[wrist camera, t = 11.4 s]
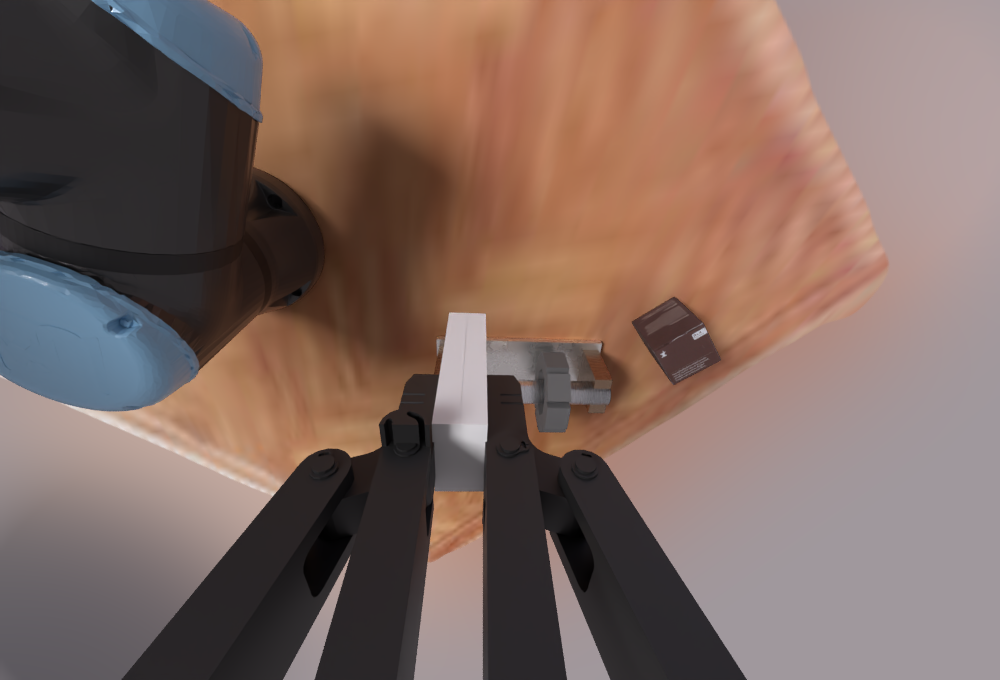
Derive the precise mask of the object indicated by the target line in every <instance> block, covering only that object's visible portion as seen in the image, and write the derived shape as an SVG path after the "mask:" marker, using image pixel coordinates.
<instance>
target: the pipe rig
mask: <svg viewBox="0 0 1000 680" xmlns="http://www.w3.org/2000/svg"><path fill="white" fill-rule="evenodd" d="M445 337H446V336H437V361H436V367H435V372H434V375H440V368H441V362H442V356H443V349H444V343H445ZM601 347H602V342H601V340H566V339H529V338H493V337H486V357H487V375H514V376H515V378H516V379H517V380H518V382H519V383H520V384H521V391H522V398H523V404H544V400H545V391H544V380H535V373H536V365H537V360H538V356H539V355H540V354H541V352H542V351H543V352H563V353H565V356H566V359H567V362H568V365H569V374H570V378H571V402H569V404H570V405H586V408H587V411H588V413H605V409H606V405H608V404H609V403H610V399H611V385H612V381H613V380H612V378H611V375H610V373H609V371H608V369H607V367H606V365H605V363H604V361H603V359H602V357H601V355H600V351H601Z"/></svg>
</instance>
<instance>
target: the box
mask: <svg viewBox="0 0 1000 680" xmlns="http://www.w3.org/2000/svg"><path fill="white" fill-rule="evenodd" d="M632 324H633V326H634V327H635V329H636V331H637V332H638V334H639V336H640V337H641V339H642V341H643V342H644V344H645V345H646V347H647V348H648V350H649V352H650V353H651V355H652V356H653V357H654V359H655V360H656V362H657V363H658V364H659V366H660V367H661V369H662V370H663V372H664V373H665V374H666V376H667V377H668V379H669V380H670V382H671V383H672V384H673V385H675V384H676V383H678V382H680V381H682V380H684V379H686V378H688V377H690V376H692V375H694V374H696V373H697V372H699V371H701V370H703V369H705V368H707V367H709V366H711V365H713V364H715V363H717V362H719V361H721V359H720V356H719V354H718V352H717V350H716V348H715V346H714V344H713V342H712V340H711V338H710V336H709V334H708V332H707V330H706V328H705V326H704V324H703V322H702V321H701V320H699V319H698V318H697V317H696V316H695V315H694V314H693V313H692V312H691V311H690V310H689V309H688V308H686V306H684V305H683V304H682V303H681V302H680V301H679V300H678V299H677V298H675V297H673V298H671V299H669V300H668V301H666V302H664V303H663V304H661V305H659V306H658V307H656V308H654V309H652V310H651V311H649V312H647V313H646V314H644V315H642V316H641V317H639V318H637V319H636V320H634V321H632Z"/></svg>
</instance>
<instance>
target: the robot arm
mask: <svg viewBox="0 0 1000 680" xmlns="http://www.w3.org/2000/svg"><path fill="white" fill-rule="evenodd" d="M262 69H263V60H262V54H261V51H260V48H259V45H258V43H257V41H256V39H255V38H254V36H253V35H252V33H251V32H250V31H249V30H248V29H247V27H246V26H245V25H244V24H243V23H242V22H241V21H239V20H238V19H237V18H235V17H234V16H232V15H231V14H229V13H227V12H226V11H224V10H222V9H221V8H219V7H217V6H216V5H214V4H212V3H211V2H209V1H207V0H0V375H2V376H3V377H5V378H6V379H8V380H9V381H11V382H13V383H15V384H17V385H19V386H21V387H23V388H25V389H27V390H29V391H31V392H34V393H36V394H38V395H41V396H44V397H46V398H49V399H52V400H55V401H58V402H61V403H64V404H68V405H72V406H76V407H81V408H86V409H92V410H99V411H129V410H136V409H140V408H142V407H145V406H150V405H154V404H156V403H158V402H160V401H162V400H163V399H165V398H166V397H168V396H169V395H170V394H172V393H173V392H175V391H176V390H177V389H179V388H180V387H182V386H183V385H184V384H186V383H188V382H190V381H191V380H192V379H193V378H195V377H196V375H197V374H198V371H199V370H200V369H201V368H202V367H203V366H204V365H205V364H206V363H207V362H209V361H210V360H211V359H212V358H213V357H214V356H215V355H216V354H217V353H218V352H219V351H220V350H221V349H222V348H223V347H224V346H225V345H226V344H228V343H229V342H230V341H231V340H232V339H233V338H234V337H235V336H236V335H237V334H238V333H239V332H240V331H241V330H242V329H243V328H244V327H246V326H247V325H248V324H249V323H250V322H251V321H252V320H253V319H254V318H255V317H256V316H257V315H260V314H263V313H267V312H271V311H274V310H278V309H281V308H284V307H287V306H289V305H291V304H293V303H295V302H296V301H298V300H299V299H301V298H302V297H303V296H304V295H305V294H306V293H307V292H308V291H309V290H310V289H311V288H312V287H313V286H314V284H315V283H316V282H317V280H318V278H319V276H320V274H321V271H322V268H323V264H324V244H323V239H322V235H321V232H320V229H319V227H318V224H317V222H316V220H315V218H314V216H313V215H312V213H311V212H310V210H309V209H308V207H307V206H306V205H305V203H304V202H303V201H302V200H301V199H300V198H299V196H298V195H297V194H296V193H295V192H293V191H292V190H291V189H290V188H289V187H288V186H286V185H285V184H284V183H282V182H281V181H280V180H278V179H276V178H275V177H273V176H271V175H269V174H268V173H266V172H263V171H261V170H259V169H256V168H253V165H254V157H255V149H256V142H257V134H258V126H259V122H260V123H262V120H263V116H262V113H261V111H260V97H261V83H262ZM379 428H380V435H381V442H382V447H381V448H379V449H377V450H375V451H374V452H371V453H368V454H365V455H360V456H356V457H352V458H350V456H349V455H348V454H347V453H346V452H345V451H342V450H340V449H325V450H320V451H317V452H315V453H313V454H311V455H310V456H308V457H307V458H306V459H305V460H304V461H302V462H301V463H300V465H299V466H298V467H297V468H296V469H295V471H294V472H293V473H292V474H291V475H290V477H289V478H288V479H287V480H286V481H285V483H284V484H283V485H282V486H281V488H280V489H279V490H278V491H277V492H276V494H275V495H274V496H273V497H272V498H271V500H270V501H269V502H268V503H267V504H266V506H265V507H264V508H263V509H262V510H261V512H260V513H259V514H258V515H257V517H256V518H255V519H254V520H253V521H252V523H251V524H250V525H249V526H248V528H247V529H246V530H245V531H244V532H243V533H242V535H241V536H240V537H239V539H237V541H236V542H235V543H234V544H233V546H232V547H231V548H230V549H229V550H228V552H227V553H226V554H225V555H224V556H223V558H222V559H221V560H220V561H219V562H218V564H217V565H216V566H215V567H214V569H213V570H212V571H211V572H210V573H209V575H208V576H207V577H206V578H205V579H204V581H203V582H202V583H201V584H200V586H199V587H198V588H197V589H196V590H195V591H194V593H193V594H192V595H191V596H190V598H189V599H188V600H187V601H186V602H185V604H184V605H183V606H182V607H181V608H180V610H179V611H178V612H177V613H176V614H175V616H174V617H173V618H172V619H171V620H170V622H169V623H168V624H167V625H166V627H165V628H164V629H163V630H162V631H161V633H160V634H159V635H158V636H157V637H156V639H155V640H154V641H153V642H152V644H151V645H150V646H149V647H148V648H147V650H146V651H145V652H144V653H143V654H142V656H141V657H140V658H139V659H138V660H137V662H136V663H135V664H134V665H133V666H132V668H131V669H130V670H129V671H128V672H127V674H126V675H125V676H124V677H123V678H122V680H283V678H284V676H285V675H286V673H287V671H288V669H289V667H290V665H291V663H292V662H293V660H294V658H295V656H296V654H297V652H298V650H299V649H300V647H301V645H302V643H303V641H304V640H305V638H306V636H307V634H308V632H309V630H310V628H311V626H312V625H313V623H314V621H315V619H316V617H317V615H318V614H319V612H320V610H321V608H322V606H323V605H324V603H325V601H326V599H327V597H328V595H329V593H330V592H331V590H332V588H333V586H334V584H335V582H336V580H337V579H338V577H339V575H340V573H341V571H342V570H343V568H344V566H345V564H346V562H347V560H348V558H349V557H350V560H349V563H348V566H347V570H346V573H345V577H344V580H343V584H342V587H341V591H340V594H339V597H338V601H337V604H336V608H335V611H334V615H333V618H332V622H331V625H330V628H329V632H328V635H327V639H326V642H325V646H324V650H323V653H322V656H321V660H320V663H319V666H318V670H317V674H316V677H315V680H414V672H415V663H416V655H417V646H418V637H419V629H420V621H421V612H422V603H423V595H424V586H425V577H426V569H427V561H428V552H429V544H430V535H431V527H432V518H433V510H434V504H433V494H434V486H435V491H484V499H483V518H482V524H483V680H567V677H566V671H565V663H564V656H563V649H562V643H561V636H560V629H559V622H558V615H557V608H556V602H555V595H554V588H553V581H552V574H551V567H550V561H549V554H548V547H547V540H546V533H545V529H546V530H549V531H550V535H551V537H552V540H553V542H554V544H555V547H556V549H557V552H558V554H559V556H560V559H561V561H562V564H563V566H564V568H565V571H566V573H567V575H568V578H569V581H570V583H571V585H572V588H573V590H574V592H575V595H576V597H577V600H578V602H579V605H580V607H581V609H582V612H583V614H584V617H585V619H586V622H587V624H588V626H589V629H590V631H591V634H592V635H593V638H594V641H595V643H596V646H597V648H598V651H599V653H600V655H601V658H602V660H603V663H604V665H605V667H606V670H607V672H608V675H609V677H610V680H747V679H746V678H745V676H744V675H743V673H742V672H741V670H740V668H739V667H738V665H737V664H736V662H735V661H734V659H733V658H732V656H731V654H730V653H729V651H728V650H727V648H726V647H725V646H724V644H723V642H722V641H721V639H720V638H719V636H718V634H717V633H716V631H715V630H714V628H713V627H712V625H711V624H710V622H709V621H708V619H707V618H706V616H705V615H704V613H703V611H702V610H701V608H700V607H699V605H698V604H697V602H696V601H695V599H694V598H693V596H692V594H691V593H690V591H689V590H688V588H687V587H686V585H685V584H684V582H683V581H682V579H681V578H680V576H679V575H678V573H677V571H676V570H675V568H674V567H673V565H672V564H671V562H670V561H669V559H668V557H667V556H666V555H665V553H664V551H663V550H662V548H661V547H660V545H659V544H658V542H657V541H656V539H655V537H654V536H653V534H652V533H651V531H650V530H649V528H648V527H647V525H646V524H645V522H644V520H643V519H642V518H641V516H640V514H639V513H638V511H637V510H636V508H635V507H634V505H633V504H632V502H631V501H630V499H629V497H628V496H627V494H626V493H625V491H624V490H623V488H622V487H621V485H620V484H619V482H618V480H617V479H616V477H615V476H614V474H613V473H612V471H611V470H610V468H609V467H608V465H607V464H606V463H605V461H604V460H603V459H602V458H601V457H599V456H598V455H596V454H594V453H593V452H589V451H586V450H573V451H570V452H568V453H566V454H565V455H564V456H563V457H562V458H560V457H556V456H553V455H549V454H546V453H544V452H542V451H540V450H539V449H537V448H536V447H535V446H534V445H533V444H532V443H531V441H530V440H529V438H528V434H527V427H526V420H525V413H524V405H523V398H522V391H521V384H520V383H519V382H518V380H517V379H516V378H515V376H514V375H487V357H486V314H481V313H449V318H448V324H447V330H446V337H445V343H444V349H443V356H442V362H441V368H440V375H432V374H414V375H413V376H412V377H411V378H410V379H409V380H408V381H407V382H406V384H405V388H404V391H403V395H402V398H401V404H400V406H399V409H398V410H396V411H393V412H390V413H389V414H388V415H386V416H385V417H384V418H383V419H382V420H381V422H380V424H379ZM350 555H351V556H350Z"/></svg>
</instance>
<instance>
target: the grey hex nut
mask: <svg viewBox="0 0 1000 680" xmlns="http://www.w3.org/2000/svg"><path fill="white" fill-rule="evenodd" d="M535 380H544V391H545V400H544V404H535V408H536V410H535V415H536V421H537V427H538V430H539V432H565V429H567V426H568V421H569V416H570V410H571V407H570V404H569V402H571V378H570V374H569V365H568V362H567V359H566V356H565V353H563V352H543V351H542V352H541V354H540V355H539V356H538V360H537V365H536V373H535Z"/></svg>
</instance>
